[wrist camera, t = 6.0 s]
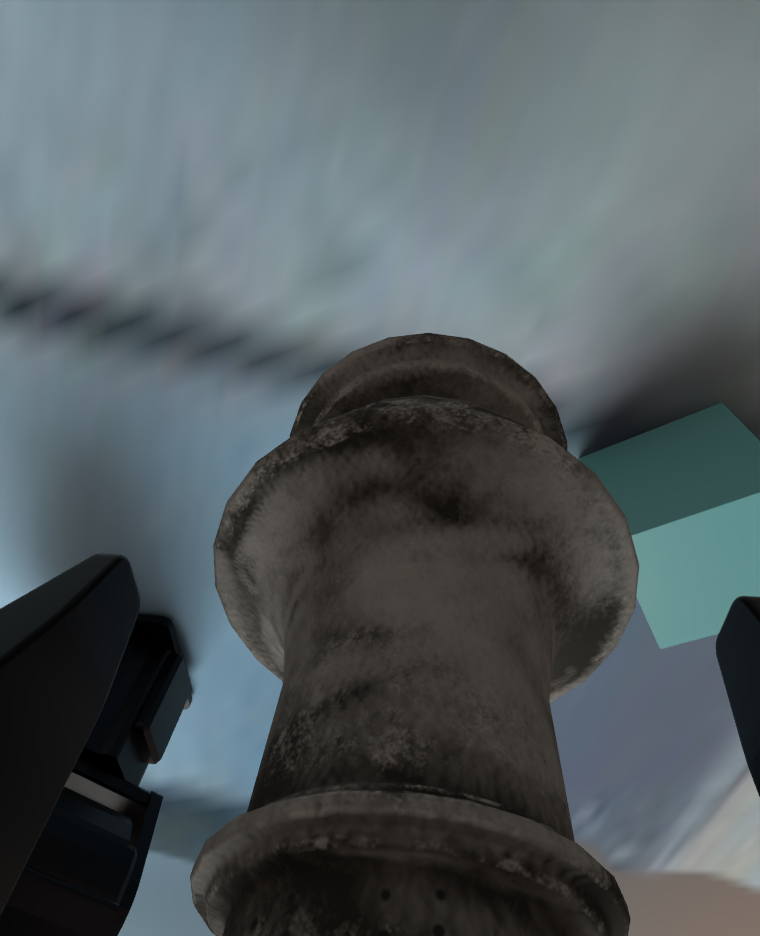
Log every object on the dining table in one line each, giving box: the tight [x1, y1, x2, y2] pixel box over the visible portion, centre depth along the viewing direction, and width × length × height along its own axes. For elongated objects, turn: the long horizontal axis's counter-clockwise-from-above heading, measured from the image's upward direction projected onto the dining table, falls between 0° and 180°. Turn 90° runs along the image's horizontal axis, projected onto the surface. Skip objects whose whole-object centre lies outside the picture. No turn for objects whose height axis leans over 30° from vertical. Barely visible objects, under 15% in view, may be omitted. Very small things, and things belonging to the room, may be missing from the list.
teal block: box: [579, 403, 760, 649], centre depth 19 cm, size 5×5×5 cm
